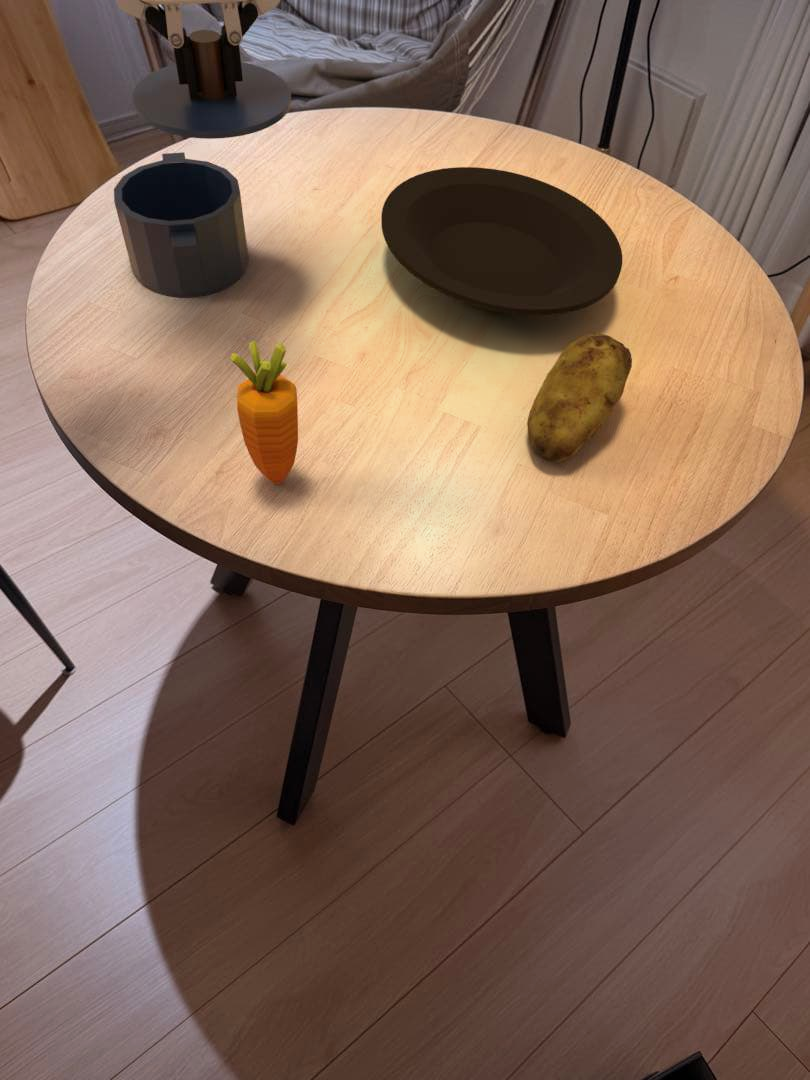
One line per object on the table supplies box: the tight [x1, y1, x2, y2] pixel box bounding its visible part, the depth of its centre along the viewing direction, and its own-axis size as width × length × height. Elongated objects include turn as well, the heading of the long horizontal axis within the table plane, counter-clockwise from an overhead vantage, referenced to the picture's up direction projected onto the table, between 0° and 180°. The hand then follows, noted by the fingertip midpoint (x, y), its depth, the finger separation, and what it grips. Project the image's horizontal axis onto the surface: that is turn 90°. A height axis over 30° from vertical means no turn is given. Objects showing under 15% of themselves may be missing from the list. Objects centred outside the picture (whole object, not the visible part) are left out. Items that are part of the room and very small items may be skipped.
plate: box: [380, 166, 623, 317], centre depth 87 cm, size 28×24×6 cm
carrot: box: [229, 340, 299, 485], centre depth 63 cm, size 5×5×15 cm
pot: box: [113, 152, 249, 298], centre depth 85 cm, size 13×18×8 cm
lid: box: [131, 29, 292, 140], centre depth 67 cm, size 14×14×6 cm
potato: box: [526, 333, 633, 463], centre depth 72 cm, size 8×13×8 cm, turn 131°
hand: (211, 88), depth 68 cm, fingers closed on lid, 2 cm apart
